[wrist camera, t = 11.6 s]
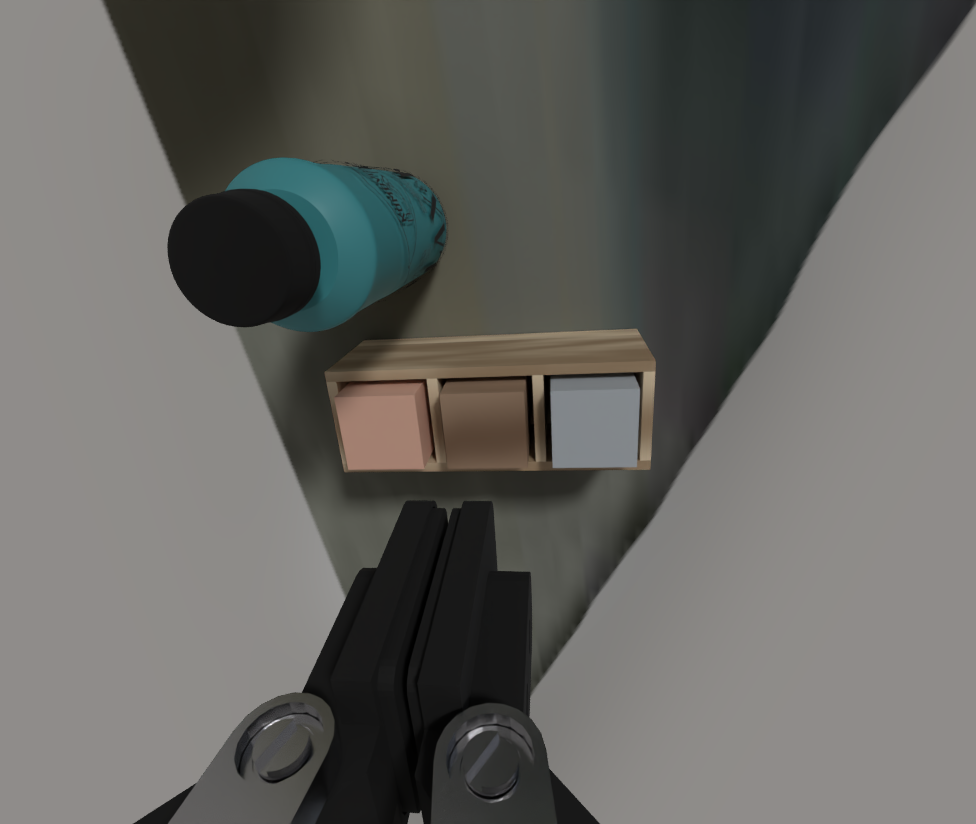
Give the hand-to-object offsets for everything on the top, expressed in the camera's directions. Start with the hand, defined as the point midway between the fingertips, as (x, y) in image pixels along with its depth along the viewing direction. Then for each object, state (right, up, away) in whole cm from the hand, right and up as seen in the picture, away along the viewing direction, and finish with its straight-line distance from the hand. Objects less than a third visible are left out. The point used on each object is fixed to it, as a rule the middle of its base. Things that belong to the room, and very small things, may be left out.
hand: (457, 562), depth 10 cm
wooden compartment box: (+1, +5, +27) cm, 27 cm away
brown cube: (+1, +4, +23) cm, 24 cm away
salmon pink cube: (-5, +4, +24) cm, 25 cm away
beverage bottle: (-5, +15, +23) cm, 28 cm away
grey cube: (+7, +4, +23) cm, 24 cm away
